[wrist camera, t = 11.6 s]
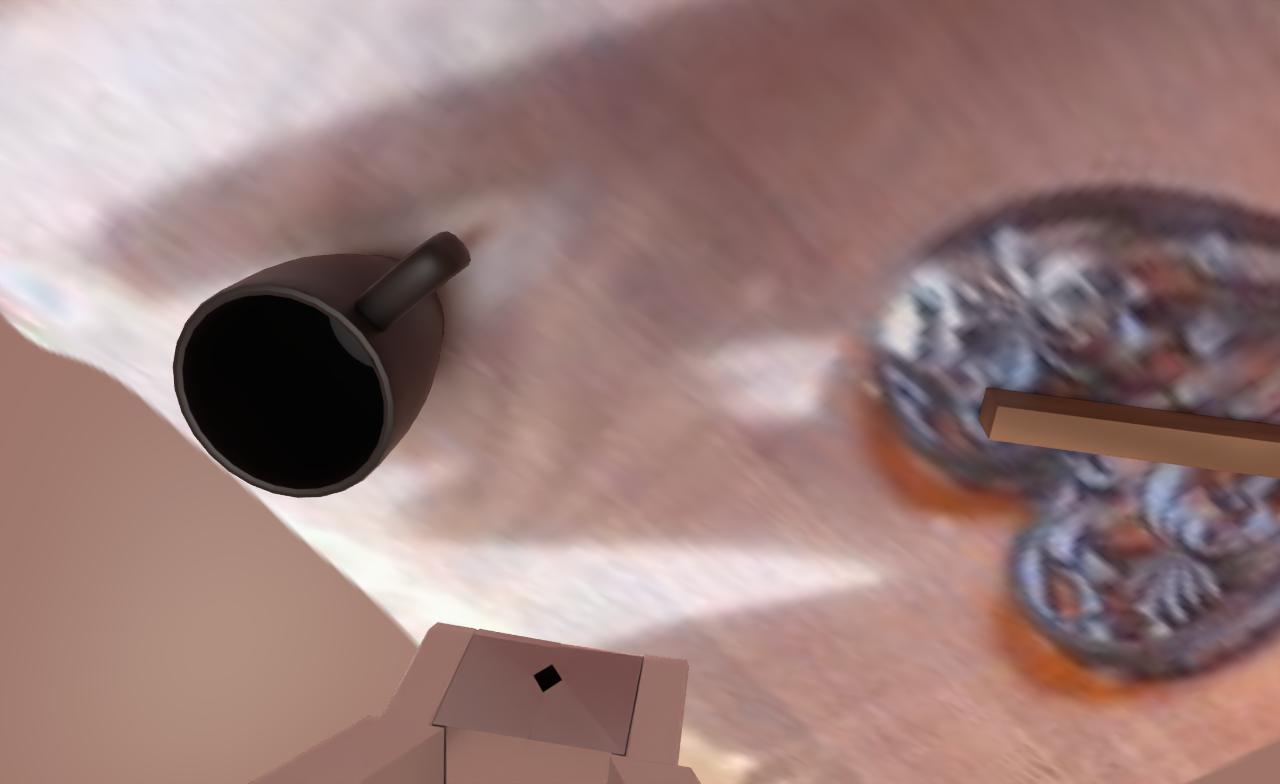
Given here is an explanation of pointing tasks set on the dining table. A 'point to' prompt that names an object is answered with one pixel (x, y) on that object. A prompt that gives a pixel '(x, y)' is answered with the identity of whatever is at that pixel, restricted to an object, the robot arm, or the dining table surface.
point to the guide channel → (1132, 432)
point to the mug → (315, 365)
